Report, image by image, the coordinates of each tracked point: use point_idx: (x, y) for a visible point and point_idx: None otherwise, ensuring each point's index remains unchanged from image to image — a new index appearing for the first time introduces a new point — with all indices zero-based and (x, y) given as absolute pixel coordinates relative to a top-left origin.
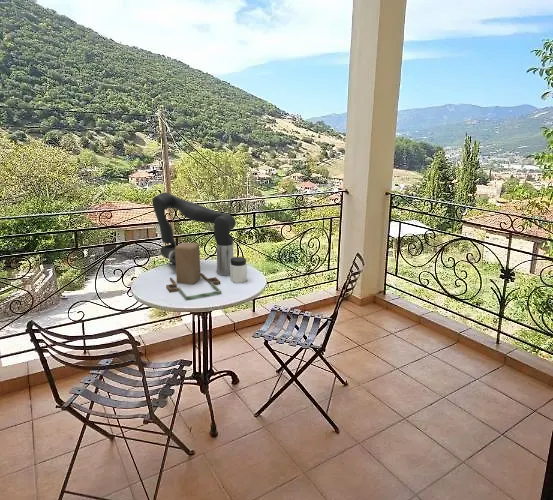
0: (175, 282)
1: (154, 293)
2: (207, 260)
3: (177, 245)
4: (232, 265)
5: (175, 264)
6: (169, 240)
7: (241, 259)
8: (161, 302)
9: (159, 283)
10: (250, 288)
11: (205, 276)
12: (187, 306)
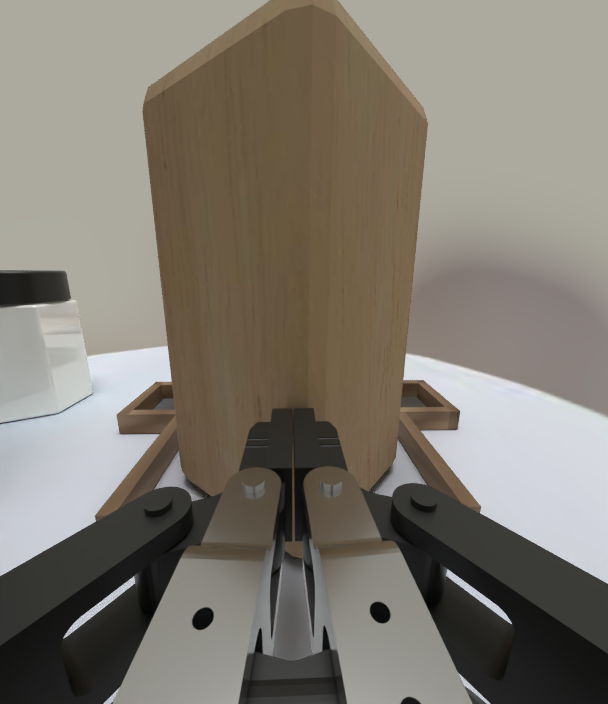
0: (402, 421)
1: (503, 405)
2: None
3: (403, 83)
4: (70, 301)
5: (495, 665)
6: None
7: (5, 270)
8: (437, 365)
9: (563, 505)
10: (110, 361)
11: (158, 438)
12: None
